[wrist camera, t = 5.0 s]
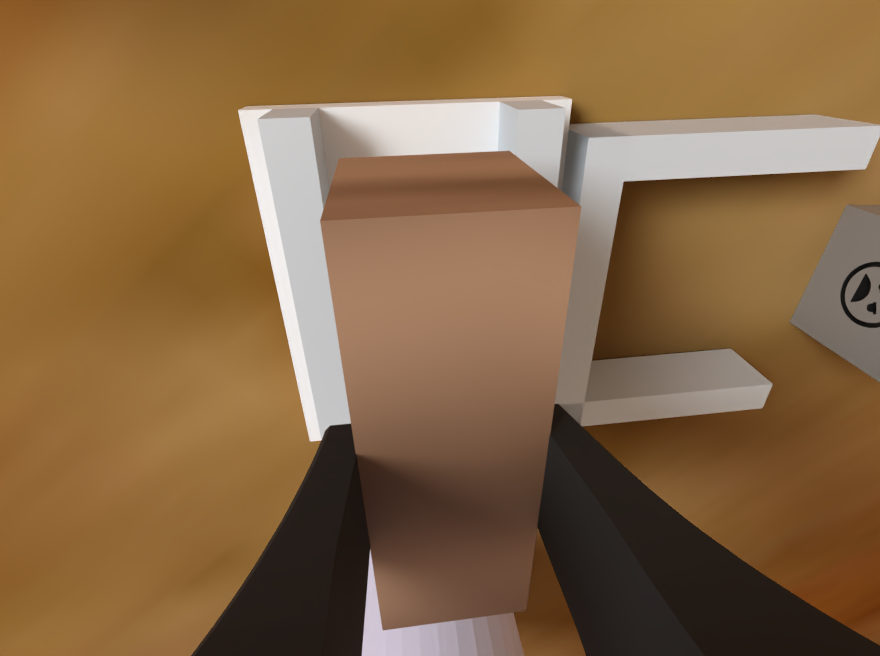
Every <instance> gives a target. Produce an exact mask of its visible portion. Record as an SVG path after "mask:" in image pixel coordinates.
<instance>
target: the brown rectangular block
mask: <svg viewBox="0 0 880 656" xmlns="http://www.w3.org/2000/svg"><path fill="white" fill-rule="evenodd" d="M580 214H581V206H580V205H579V204H578V203H576V202H575V201H574V200H572V199H571V198H570V197H569V196H567V195H566V194H565V193H563V192H562V191H561V190H560V189H558V188H557V187H556V186H554V185H553V184H552V183H550V182H549V181H548V180H547V179H545V178H544V177H543V176H541V175H540V174H539V173H538V172H536V171H535V170H534V169H532V168H531V167H530V166H528V165H527V164H526V163H525V162H523V161H522V160H521V159H519V158H518V157H517V156H516V155H514V154H513V153H512V152H510V151H492V152H469V153H446V154H423V155H400V156H377V157H354V158H339V160H338V163H337V166H336V170H335V173H334V176H333V180H332V183H331V186H330V190H329V193H328V196H327V200H326V203H325V206H324V209H323V213H322V216H321V219H320V224H321V231H322V237H323V244H324V250H325V257H326V263H327V270H328V277H329V283H330V290H331V296H332V303H333V309H334V316H335V322H336V329H337V335H338V342H339V348H340V355H341V361H342V368H343V375H344V381H345V388H346V394H347V401H348V407H349V414H350V420H351V427H352V433H353V440H354V446H355V453H356V455H357V462H358V468H359V475H360V481H361V488H362V495H363V501H364V508H365V514H366V521H367V527H368V534H369V541H370V551H371V557H372V564H373V571H374V577H375V584H376V590H377V597H378V603H379V610H380V616H381V623H382V629H383V630H390V629H397V628H405V627H412V626H419V625H427V624H434V623H441V622H448V621H456V620H463V619H470V618H478V617H485V616H492V615H499V614H507V613H514V612H521V611H526V609H527V602H528V595H529V587H530V580H531V573H532V565H533V558H534V551H535V543H536V536H537V529H538V527H537V525H538V517H539V510H540V502H541V495H542V488H543V480H544V473H545V466H546V458H547V451H548V443H549V436H550V433H551V426H552V419H553V411H554V404H555V397H556V389H557V382H558V375H559V367H560V360H561V353H562V346H563V338H564V331H565V324H566V316H567V309H568V302H569V294H570V287H571V280H572V272H573V265H574V258H575V250H576V243H577V236H578V228H579V221H580Z"/></svg>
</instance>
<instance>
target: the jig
mask: <svg viewBox="0 0 880 656" xmlns="http://www.w3.org/2000/svg"><path fill="white" fill-rule="evenodd" d="M571 105H572V99H570V98H566V97H563V96H542V97H512V98H482V99H451V100H421V101H390V102H360V103H330V104H299V105H269V106H246V107H244V108H242V109H240V110H238V112H239V117H240V122H241V126H242V131H243V135H244V140H245V144H246V149H247V154H248V158H249V163H250V167H251V172H252V177H253V181H254V186H255V190H256V195H257V200H258V204H259V209H260V213H261V218H262V223H263V227H264V232H265V236H266V241H267V246H268V250H269V255H270V259H271V264H272V269H273V273H274V278H275V282H276V287H277V292H278V296H279V301H280V305H281V310H282V314H283V319H284V324H285V328H286V333H287V337H288V342H289V347H290V351H291V356H292V360H293V365H294V370H295V374H296V379H297V383H298V388H299V393H300V397H301V402H302V406H303V411H304V416H305V420H306V425H307V429H308V434H309V439H310V441H319V440H322V438H323V435H324V432H325V430H326V429H327V428H328V427H329V426H330V425H340V424H351V420H350V414H349V407H348V401H347V394H346V388H345V381H344V375H343V368H342V361H341V355H340V348H339V342H338V335H337V329H336V322H335V316H334V309H333V303H332V296H331V290H330V283H329V277H328V270H327V263H326V257H325V250H324V244H323V237H322V231H321V224H320V219H321V216H322V213H323V209H324V206H325V203H326V200H327V196H328V193H329V190H330V186H331V183H332V180H333V176H334V173H335V170H336V166H337V163H338V160H339V158H354V157H377V156H400V155H423V154H446V153H469V152H492V151H510V152H512V153H513V154H514V155H516V156H517V157H518V158H519V159H521V160H522V161H523V162H525V163H526V164H527V165H528V166H530V167H531V168H532V169H534V170H535V171H536V172H538V173H539V174H540V175H541V176H543V177H544V178H545V179H547V180H548V181H549V182H550V183H552V184H553V185H554V186H556V187H557V188H558V189H560V190H561V191H562V192H563V193H565V194H566V195H567V196H569V197H570V198H571V199H572V200H574V201H575V202H576V203H578V204H579V205H580V206H581V214H580V221H579V228H578V236H577V243H576V250H575V258H574V265H573V272H572V280H571V287H570V294H569V302H568V309H567V316H566V324H565V331H564V338H563V346H562V353H561V360H560V367H559V375H558V382H557V389H556V397H555V404H559V405H560V406H561V407H562V408H563V409H564V410H566V411H567V412H568V413H569V414H570V415H571V416H572V417H573V418H574V419H575V420H576V421H577V422H578V423H579V424H580V425H581V426H592V425H602V424H612V423H621V422H631V421H641V420H651V419H661V418H671V417H681V416H691V415H701V414H711V413H720V412H730V411H740V410H750V409H760V408H763V406H764V404H765V401H766V399H767V397H768V394H769V392H770V390H771V388H772V385H773V384H772V383H771V382H770V381H769V380H768V379H766V378H765V377H764V376H763V375H762V374H760V373H759V372H758V371H757V370H756V369H755V368H753V367H752V366H751V365H750V364H749V363H747V362H746V361H745V360H744V359H743V358H742V357H740V356H739V355H738V354H737V353H736V352H734V351H733V350H732V349H720V350H708V351H697V352H686V353H674V354H663V355H651V356H640V357H629V358H617V359H606V360H594V361H592V356H593V351H594V345H595V339H596V334H597V328H598V323H599V317H600V311H601V306H602V300H603V294H604V289H605V283H606V278H607V272H608V266H609V261H610V255H611V249H612V244H613V238H614V233H615V227H616V221H617V216H618V210H619V205H620V199H621V193H622V188H623V182H624V181H643V180H662V179H682V178H701V177H721V176H740V175H760V174H780V173H799V172H819V171H838V170H858V169H866V167H867V165H868V162H869V160H870V158H871V155H872V153H873V151H874V149H875V146H876V144H877V142H878V139H879V137H880V125H878V124H872V123H865V122H859V121H853V120H846V119H840V118H833V117H827V116H821V115H788V116H763V117H737V118H711V119H685V120H659V121H634V122H608V123H582V124H569V123H570V114H571Z"/></svg>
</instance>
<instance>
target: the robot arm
mask: <svg viewBox="0 0 880 656" xmlns="http://www.w3.org/2000/svg"><path fill="white" fill-rule="evenodd" d="M537 527H538V529H539V532H540V535H541V537H542V540H543V543H544V545H545V548H546V550H547V553H548V556H549V558H550V561H551V563H552V566H553V568H554V571H555V574H556V576H557V579H558V581H559V584H560V586H561V589H562V591H563V594H564V597H565V599H566V602H567V604H568V607H569V609H570V612H571V615H572V617H573V620H574V622H575V625H576V627H577V630H578V633H579V636H580V639H581V642H582V645H583V648H584V650H585V653H586V656H880V646H879V645H878V644H876V643H874V642H872V641H871V640H869V639H867V638H865V637H864V636H862V635H860V634H858V633H857V632H855V631H853V630H851V629H850V628H848V627H846V626H845V625H843V624H841V623H840V622H838V621H836V620H835V619H833V618H831V617H830V616H828V615H826V614H825V613H823V612H821V611H820V610H818V609H816V608H815V607H813V606H812V605H810V604H809V603H807V602H805V601H804V600H802V599H801V598H799V597H798V596H796V595H794V594H793V593H791V592H790V591H788V590H787V589H785V588H783V587H782V586H780V585H779V584H777V583H776V582H774V581H772V580H771V579H769V578H768V577H766V576H765V575H763V574H762V573H760V572H759V571H757V570H756V569H754V568H753V567H751V566H750V565H748V564H747V563H746V562H744V561H743V560H741V559H740V558H738V557H737V556H736V555H734V554H733V553H731V552H730V551H729V550H727V549H726V548H725V547H723V546H722V545H720V544H719V543H718V542H716V541H715V540H713V539H712V538H711V537H709V536H708V535H706V534H705V533H704V532H702V531H701V530H700V529H698V528H697V527H696V526H695V525H693V524H692V523H691V522H689V521H688V520H687V519H685V518H684V517H683V516H682V515H680V514H679V513H678V512H677V511H676V510H674V509H673V508H672V507H671V506H669V505H668V504H667V503H666V502H665V501H663V500H662V499H661V498H660V497H658V496H657V495H656V494H655V493H654V492H653V491H651V490H650V489H649V488H648V487H647V486H646V485H644V484H643V483H642V482H641V481H640V480H639V479H638V478H637V477H635V476H634V475H633V474H632V473H631V472H630V471H629V470H628V469H627V468H625V467H624V466H623V465H622V464H621V463H620V462H619V461H618V460H617V459H615V458H614V457H613V456H612V455H611V454H610V453H609V452H608V451H607V450H606V449H605V448H604V447H603V446H602V445H601V444H600V443H599V442H597V441H596V440H595V439H594V438H593V437H592V436H591V435H590V434H589V433H588V432H587V431H586V430H585V429H584V428H583V427H582V426H581V425H580V424H579V423H578V422H577V421H576V420H575V419H574V418H573V417H572V416H571V415H570V414H569V413H568V412H567V411H566V410H564V409H563V408H562V407H561V406H560V405H559V404H554V411H553V419H552V426H551V433H550V436H549V443H548V451H547V458H546V466H545V473H544V480H543V488H542V495H541V502H540V510H539V517H538V525H537ZM191 656H524V653H523V649H522V645H521V641H520V637H519V633H518V629H517V625H516V621H515V616H514V613H507V614H499V615H492V616H485V617H478V618H470V619H463V620H456V621H448V622H441V623H434V624H427V625H419V626H412V627H405V628H397V629H390V630H383V629H382V623H381V616H380V610H379V603H378V597H377V590H376V584H375V577H374V571H373V564H372V557H371V551H370V541H369V534H368V527H367V521H366V514H365V508H364V501H363V495H362V488H361V481H360V475H359V468H358V462H357V455H356V453H355V446H354V440H353V433H352V427H351V424H340V425H330V426H329V427H328V428H327V429H326V430H325V432H324V435H323V438H322V440H321V443H320V445H319V448H318V450H317V452H316V455H315V457H314V459H313V461H312V464H311V466H310V468H309V470H308V472H307V474H306V476H305V478H304V480H303V482H302V484H301V486H300V488H299V490H298V492H297V493H296V495H295V497H294V499H293V501H292V503H291V505H290V507H289V509H288V510H287V512H286V514H285V516H284V518H283V520H282V521H281V523H280V525H279V526H278V528H277V530H276V531H275V533H274V535H273V536H272V538H271V540H270V541H269V543H268V545H267V546H266V548H265V550H264V551H263V553H262V555H261V556H260V558H259V560H258V561H257V563H256V564H255V566H254V568H253V569H252V571H251V572H250V574H249V575H248V577H247V578H246V580H245V581H244V583H243V584H242V586H241V587H240V589H239V590H238V592H237V593H236V595H235V596H234V598H233V599H232V601H231V602H230V603H229V605H228V606H227V608H226V609H225V610H224V612H223V613H222V615H221V616H220V618H219V619H218V620H217V622H216V623H215V625H214V626H213V627H212V629H211V630H210V631H209V633H208V634H207V635H206V637H205V638H204V639H203V641H202V642H201V643H200V645H199V646H198V647H197V649H196V650H195V651H194V653H193V654H192V655H191Z"/></svg>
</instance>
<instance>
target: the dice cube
mask: <svg viewBox="0 0 880 656" xmlns="http://www.w3.org/2000/svg"><path fill="white" fill-rule="evenodd" d="M790 323H791V324H793V325H794V326H796V327H797V328H799V329H800V330H802V331H803V332H805V333H806V334H808V335H809V336H811V337H812V338H814V339H815V340H817V341H818V342H820V343H821V344H823V345H824V346H826V347H827V348H829V349H830V350H832V351H833V352H835V353H836V354H838V355H839V356H841V357H842V358H844V359H845V360H847V361H848V362H850V363H851V364H853V365H854V366H856V367H857V368H859V369H860V370H862V371H863V372H865V373H866V374H868V375H869V376H871V377H872V378H874V379H875V380H877V381H878V382H880V205H846V207H845V209H844V212H843V214H842V216H841V218H840V220H839V222H838V224H837V226H836V228H835V230H834V232H833V234H832V236H831V238H830V240H829V242H828V244H827V246H826V249H825V251H824V253H823V255H822V257H821V259H820V261H819V263H818V265H817V267H816V269H815V271H814V273H813V275H812V277H811V279H810V281H809V283H808V286H807V288H806V290H805V292H804V294H803V296H802V298H801V300H800V302H799V304H798V306H797V308H796V310H795V312H794V314H793V316H792V318H791V321H790Z"/></svg>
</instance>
